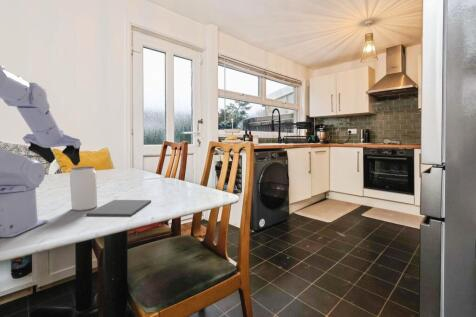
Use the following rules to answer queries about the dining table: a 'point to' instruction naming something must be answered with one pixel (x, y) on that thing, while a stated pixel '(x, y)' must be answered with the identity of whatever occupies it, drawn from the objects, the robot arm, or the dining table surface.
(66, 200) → the dining table surface
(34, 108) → the robot arm
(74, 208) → the can
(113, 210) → the mat
